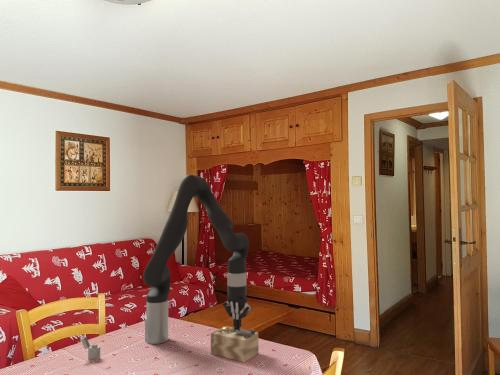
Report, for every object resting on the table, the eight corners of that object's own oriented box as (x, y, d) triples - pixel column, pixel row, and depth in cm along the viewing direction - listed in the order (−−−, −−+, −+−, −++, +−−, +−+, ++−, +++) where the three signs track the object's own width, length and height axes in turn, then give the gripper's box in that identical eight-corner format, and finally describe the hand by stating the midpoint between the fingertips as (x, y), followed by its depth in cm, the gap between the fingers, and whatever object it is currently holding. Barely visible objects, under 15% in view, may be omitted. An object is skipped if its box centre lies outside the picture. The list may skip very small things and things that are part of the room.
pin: (220, 352, 151) (220, 327, 151) (225, 349, 154) (225, 325, 154) (227, 353, 149) (227, 329, 150) (232, 350, 152) (232, 327, 152)
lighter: (100, 357, 147) (100, 336, 147) (98, 359, 145) (98, 338, 146) (82, 357, 148) (83, 336, 148) (80, 359, 146) (80, 338, 146)
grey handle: (231, 331, 148) (231, 328, 148) (237, 329, 151) (237, 326, 151) (248, 337, 144) (248, 334, 144) (253, 334, 147) (253, 331, 147)
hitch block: (210, 353, 150) (210, 328, 150) (226, 345, 158) (225, 322, 159) (244, 362, 141) (244, 336, 141) (258, 353, 149) (258, 328, 150)
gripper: (256, 283, 149) (256, 328, 149) (229, 280, 157) (229, 322, 156) (245, 287, 143) (245, 334, 142) (217, 283, 150) (218, 328, 150)
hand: (237, 328), depth 149 cm, fingers closed
